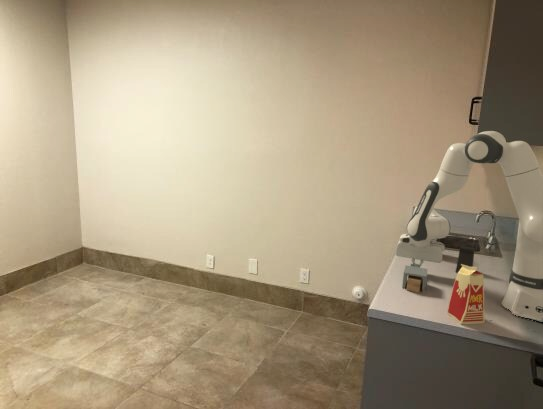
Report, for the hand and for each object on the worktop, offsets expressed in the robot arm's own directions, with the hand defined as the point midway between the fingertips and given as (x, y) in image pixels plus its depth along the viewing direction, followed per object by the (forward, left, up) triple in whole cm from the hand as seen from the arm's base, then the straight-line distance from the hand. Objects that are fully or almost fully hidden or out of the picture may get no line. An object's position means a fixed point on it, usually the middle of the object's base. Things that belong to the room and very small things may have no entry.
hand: (416, 268), depth 181 cm
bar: (-3, +9, -2) cm, 10 cm away
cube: (-9, +20, -2) cm, 21 cm away
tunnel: (-7, +16, -2) cm, 18 cm away
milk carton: (-32, +28, -2) cm, 43 cm away
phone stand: (-14, -19, -2) cm, 24 cm away
